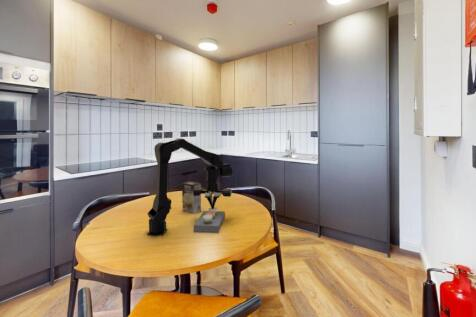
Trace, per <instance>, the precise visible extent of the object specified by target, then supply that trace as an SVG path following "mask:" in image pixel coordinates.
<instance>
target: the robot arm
mask: <svg viewBox="0 0 476 317" xmlns="http://www.w3.org/2000/svg"><path fill="white" fill-rule="evenodd" d="M180 149H183V150H184V151H187V152H188V153H190V154H192V155H194V156H196V157H198V158H199V159H200V160H201V161H203V162H204V163H205V166H204V167H202V171H206V182H205V183H206V184H205V186H206V189H204V187H201V188H196V189H195V190H194V191H193V196H200V195H201V196H202V194H203V195H204V198H205V199H207V201H208V204H209V206H210V208H212V209H214V207H215V206H216V202H217V200H218V199H219V198H220V197H221V195H222V196H223V197H230V198H231V196H232V194H233V191H232V188H223V189H222V190H220V186H221V182H219V178H228V177H232V176H233V168H232V166H231V163H229V162H228V163H223V162H222V160H221V157H220V155H219V154H218V153H214V152H211V151H207V150H205V149H202V148H200V147H199V146H197V145H195V144H193V143H191V142H189V141H187V140H186V139H185V138H176V139H174V140H171V141H166V142H158V143H157V144H155V146H154V149H153V150H154V155H155V159H156V160H155V161H156V163H157V167H156V195H155V197H154V199H153V203H152V208H150V210H149V211H148V212H147V213H146V214H147V216H148V218H149V219H148V232H147V236H163V235H164V233H166V231H167V230H168V229H167V228H168V227H167V217H168V215H169V214H170V212H171V210H172V199H171V198H169V197H168V179H169V178H168V175H169V173H168V171H169V162H170V161H171V157H172V153H173V152H176V151H178V150H180ZM213 195H214V196H213Z"/></svg>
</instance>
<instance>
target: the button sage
mask: <svg viewBox="0 0 476 317" xmlns="http://www.w3.org/2000/svg"><path fill="white" fill-rule="evenodd" d="M203 221H205V222H209V221H212V215H203Z"/></svg>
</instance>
